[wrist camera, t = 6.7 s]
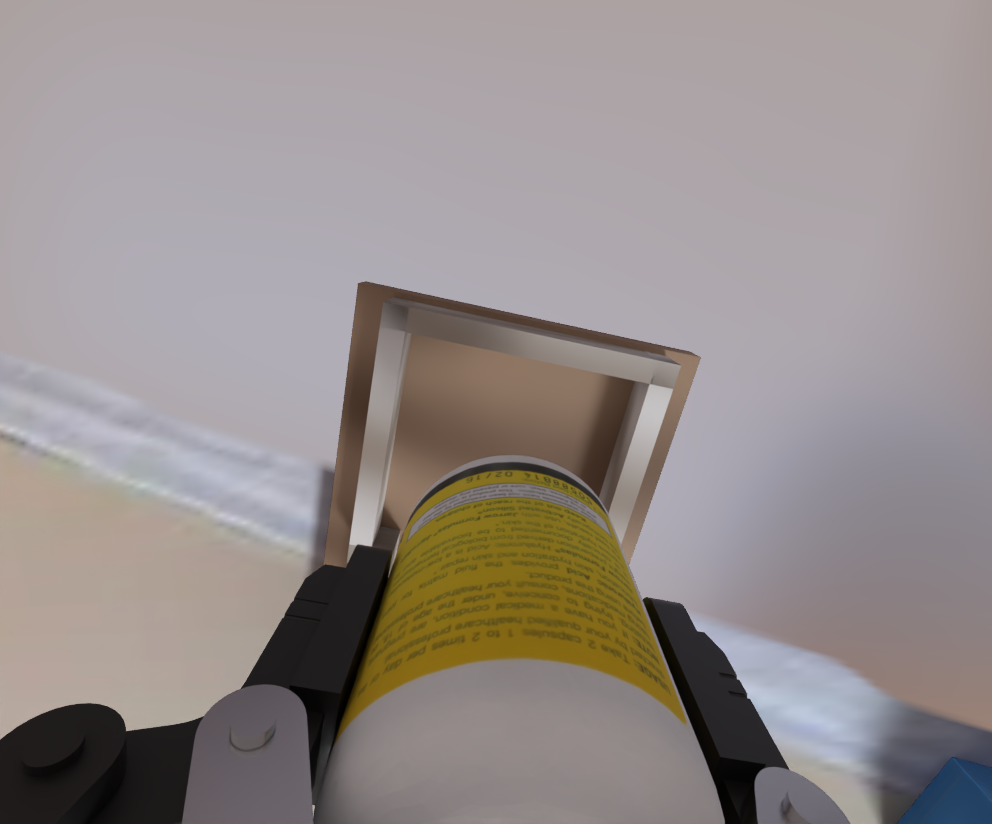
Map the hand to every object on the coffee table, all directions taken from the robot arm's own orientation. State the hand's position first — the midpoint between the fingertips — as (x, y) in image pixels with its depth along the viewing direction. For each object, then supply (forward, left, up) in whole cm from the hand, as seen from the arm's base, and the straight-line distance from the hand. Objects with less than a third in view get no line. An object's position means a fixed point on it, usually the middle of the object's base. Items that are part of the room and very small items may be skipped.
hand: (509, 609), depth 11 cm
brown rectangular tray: (+6, 0, -9) cm, 11 cm away
